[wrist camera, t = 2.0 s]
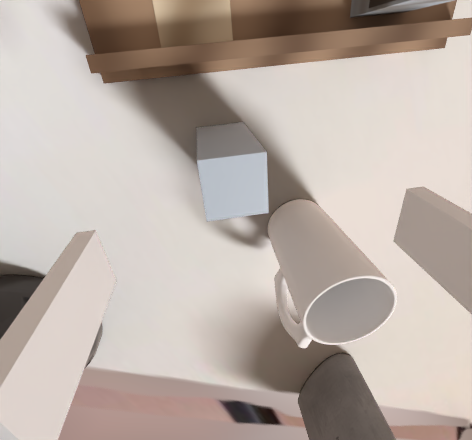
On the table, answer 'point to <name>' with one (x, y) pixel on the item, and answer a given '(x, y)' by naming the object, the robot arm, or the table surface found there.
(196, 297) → the table surface
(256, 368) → the table surface
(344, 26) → the rail
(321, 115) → the table surface
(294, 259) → the mug
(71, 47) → the table surface
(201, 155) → the block
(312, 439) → the flask
